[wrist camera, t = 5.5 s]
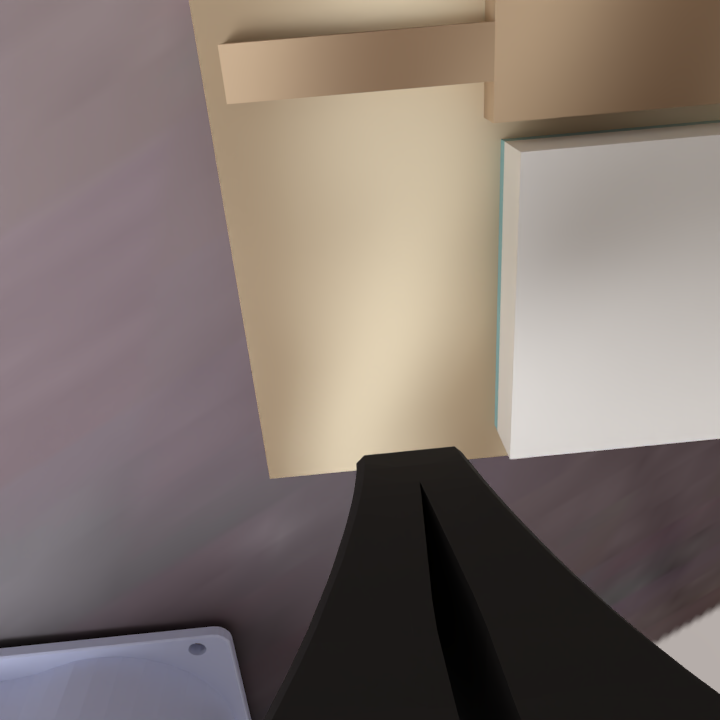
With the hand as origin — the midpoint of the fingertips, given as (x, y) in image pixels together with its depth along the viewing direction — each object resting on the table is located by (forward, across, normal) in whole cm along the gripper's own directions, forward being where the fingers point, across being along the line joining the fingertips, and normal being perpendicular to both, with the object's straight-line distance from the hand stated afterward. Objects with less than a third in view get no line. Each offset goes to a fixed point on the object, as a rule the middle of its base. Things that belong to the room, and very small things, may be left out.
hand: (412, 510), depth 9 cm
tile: (+6, -3, 0) cm, 7 cm away
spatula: (+7, -4, -5) cm, 9 cm away
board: (+8, -4, -1) cm, 8 cm away
